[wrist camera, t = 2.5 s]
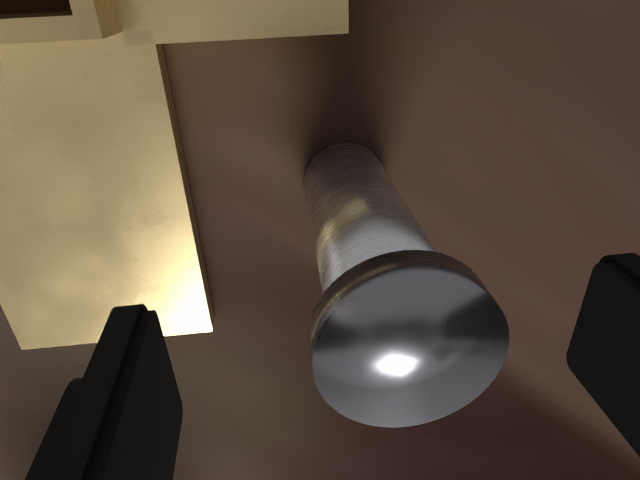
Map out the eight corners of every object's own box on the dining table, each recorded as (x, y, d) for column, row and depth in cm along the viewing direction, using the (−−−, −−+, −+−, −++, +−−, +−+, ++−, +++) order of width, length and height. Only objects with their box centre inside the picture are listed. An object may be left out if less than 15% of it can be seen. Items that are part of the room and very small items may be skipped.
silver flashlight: (397, 125, 18) (525, 267, 9) (393, 223, 20) (493, 416, 11) (287, 133, 17) (307, 286, 9) (294, 232, 19) (316, 436, 11)
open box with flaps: (339, -258, 12) (359, -321, 10) (348, 304, 22) (359, 349, 19) (-229, -249, 11) (-375, -317, 9) (32, 334, 21) (-2, 385, 18)
